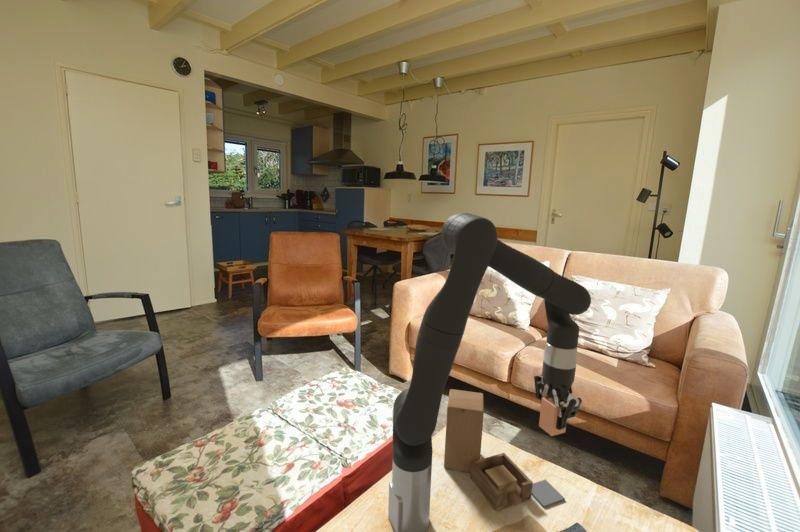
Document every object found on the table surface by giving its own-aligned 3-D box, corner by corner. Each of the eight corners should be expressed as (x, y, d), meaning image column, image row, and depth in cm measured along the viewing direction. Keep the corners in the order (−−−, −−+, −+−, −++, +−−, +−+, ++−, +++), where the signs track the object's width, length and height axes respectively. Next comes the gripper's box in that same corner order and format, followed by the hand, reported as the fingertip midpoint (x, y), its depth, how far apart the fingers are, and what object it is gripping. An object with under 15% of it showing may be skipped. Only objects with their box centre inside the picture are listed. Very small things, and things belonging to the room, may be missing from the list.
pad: (543, 507, 97) (543, 505, 96) (525, 488, 103) (525, 486, 103) (564, 500, 99) (564, 498, 99) (545, 481, 105) (545, 479, 105)
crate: (496, 510, 95) (497, 493, 94) (470, 477, 106) (471, 461, 105) (530, 498, 99) (532, 482, 98) (502, 467, 110) (504, 452, 109)
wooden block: (478, 474, 107) (483, 411, 103) (443, 468, 109) (447, 406, 105) (478, 451, 117) (483, 392, 113) (446, 446, 119) (449, 388, 115)
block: (565, 432, 96) (568, 403, 94) (551, 436, 94) (554, 407, 93) (552, 422, 100) (555, 394, 99) (538, 425, 98) (541, 397, 97)
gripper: (595, 371, 88) (586, 436, 92) (550, 347, 101) (543, 405, 105) (570, 376, 86) (562, 443, 89) (527, 351, 99) (522, 410, 102)
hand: (552, 422), depth 97 cm, fingers closed on block, 4 cm apart
